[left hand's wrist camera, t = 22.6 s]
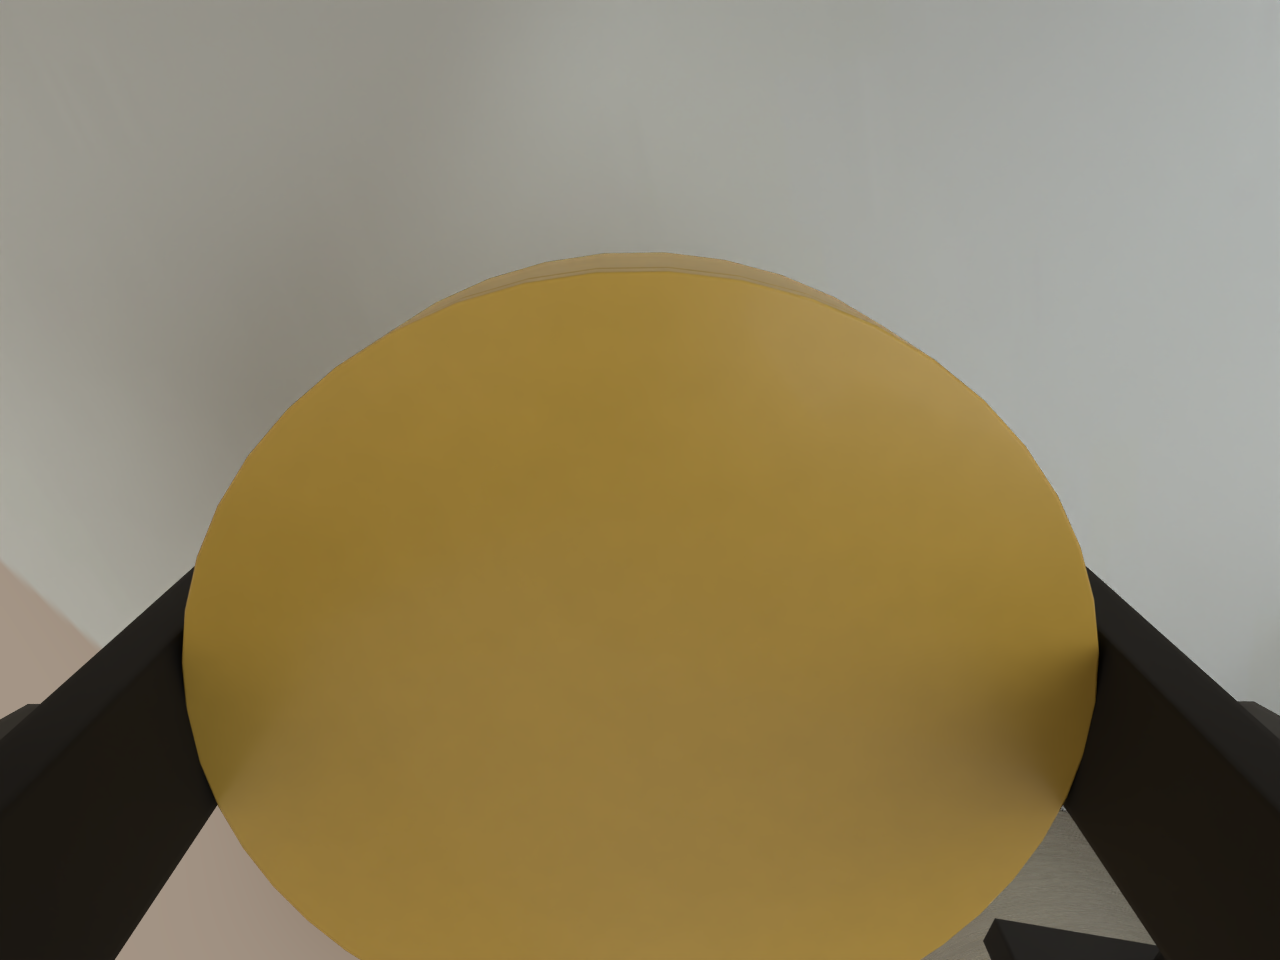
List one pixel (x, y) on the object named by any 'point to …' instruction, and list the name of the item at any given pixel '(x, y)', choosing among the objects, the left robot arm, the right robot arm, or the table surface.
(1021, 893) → the jar
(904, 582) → the lid
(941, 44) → the table surface
